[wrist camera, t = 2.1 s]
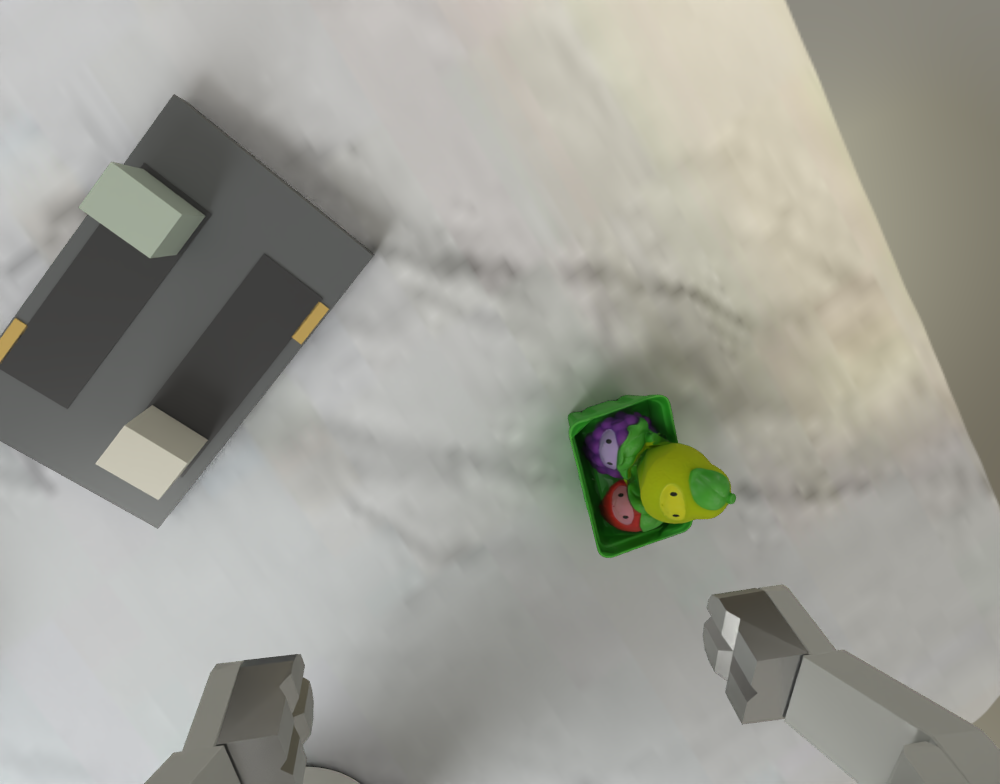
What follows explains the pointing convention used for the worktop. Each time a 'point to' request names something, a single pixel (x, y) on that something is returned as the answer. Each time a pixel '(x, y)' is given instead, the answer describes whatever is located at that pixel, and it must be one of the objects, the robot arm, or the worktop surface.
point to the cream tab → (151, 451)
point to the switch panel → (171, 314)
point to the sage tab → (141, 210)
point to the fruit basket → (641, 474)
